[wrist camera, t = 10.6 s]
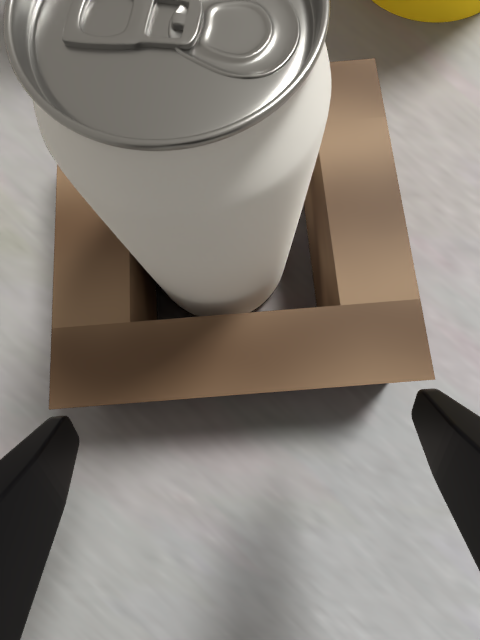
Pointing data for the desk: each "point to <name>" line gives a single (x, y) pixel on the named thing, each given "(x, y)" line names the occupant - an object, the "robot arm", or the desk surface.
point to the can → (183, 128)
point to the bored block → (255, 327)
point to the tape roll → (431, 9)
